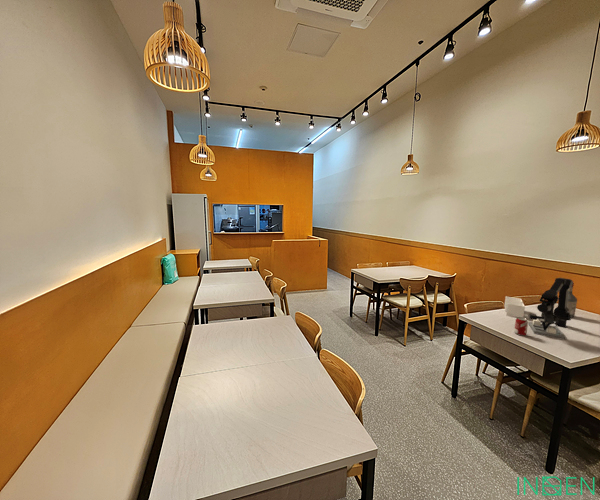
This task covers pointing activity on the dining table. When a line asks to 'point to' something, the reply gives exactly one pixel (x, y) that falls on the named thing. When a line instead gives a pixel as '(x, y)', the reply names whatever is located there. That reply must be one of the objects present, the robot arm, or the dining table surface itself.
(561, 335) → the gray shelf unit
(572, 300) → the liquor
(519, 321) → the soda can
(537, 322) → the tab
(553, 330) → the tab
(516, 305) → the storage container
